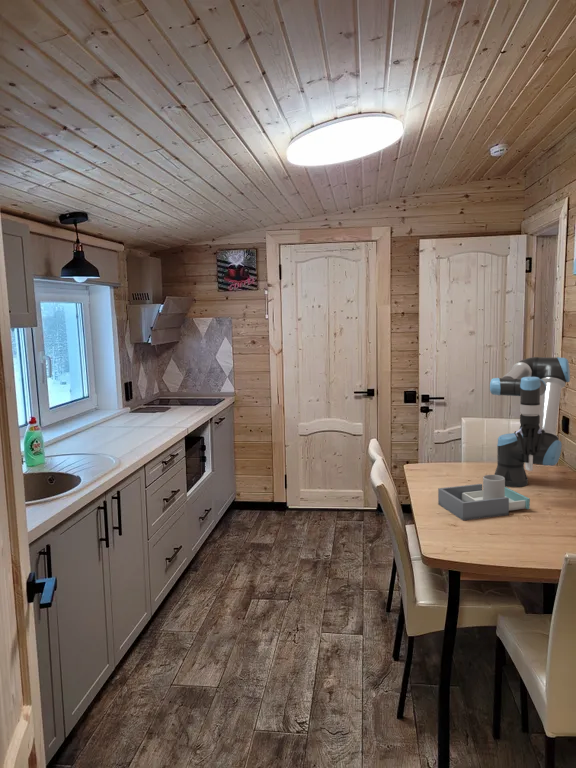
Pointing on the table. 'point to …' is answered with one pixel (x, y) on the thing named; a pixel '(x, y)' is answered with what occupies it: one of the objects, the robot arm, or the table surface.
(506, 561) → the table surface
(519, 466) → the robot arm
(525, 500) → the tray
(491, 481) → the mug
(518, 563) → the table surface
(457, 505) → the dock
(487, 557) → the table surface
